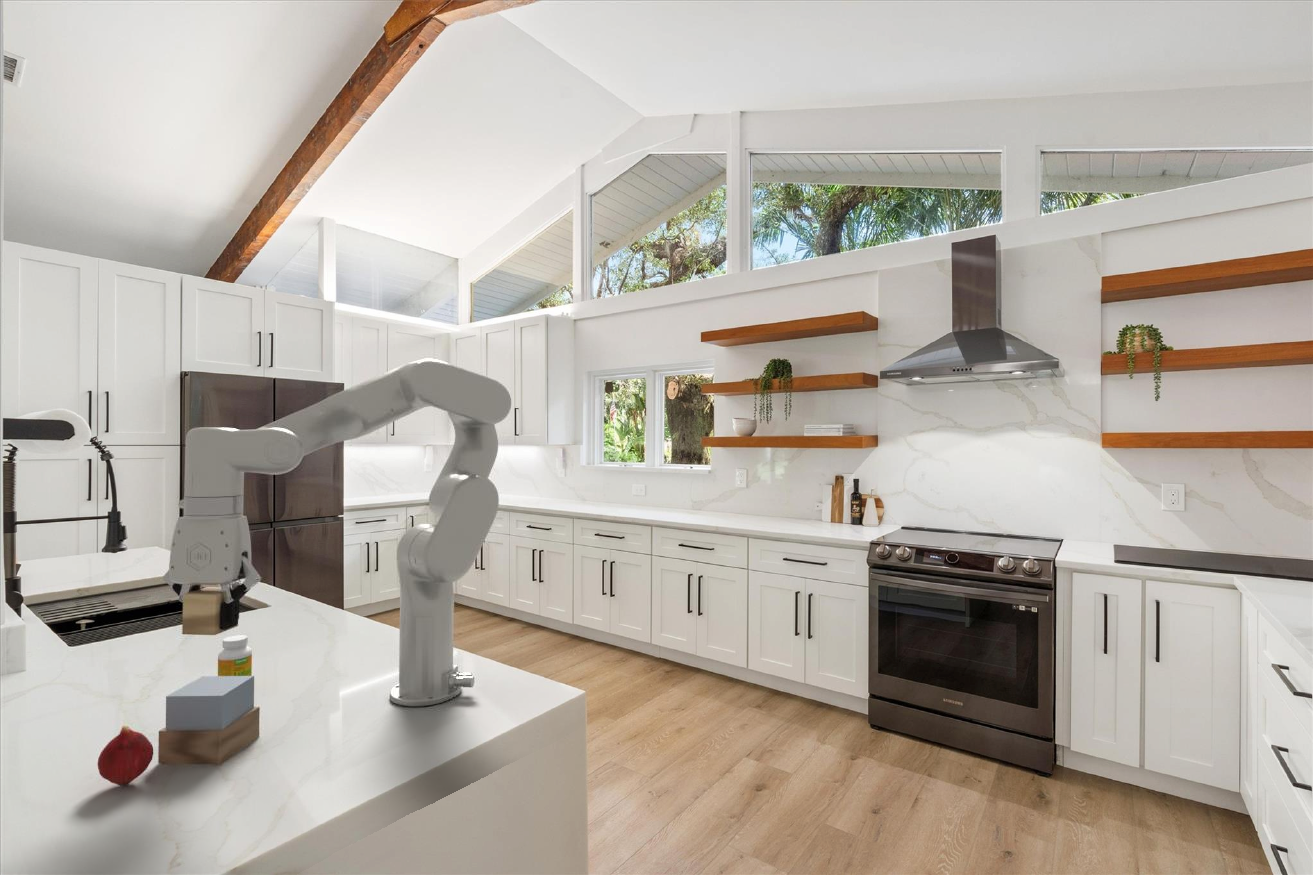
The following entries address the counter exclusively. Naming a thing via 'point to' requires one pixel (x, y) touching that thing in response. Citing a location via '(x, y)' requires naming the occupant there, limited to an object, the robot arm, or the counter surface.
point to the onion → (125, 757)
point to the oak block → (202, 611)
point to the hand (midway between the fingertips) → (210, 625)
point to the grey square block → (209, 703)
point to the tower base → (208, 742)
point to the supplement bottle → (235, 657)
